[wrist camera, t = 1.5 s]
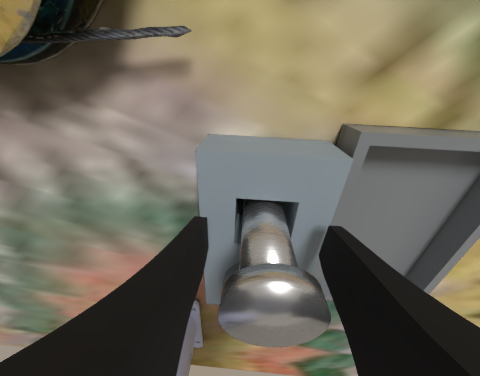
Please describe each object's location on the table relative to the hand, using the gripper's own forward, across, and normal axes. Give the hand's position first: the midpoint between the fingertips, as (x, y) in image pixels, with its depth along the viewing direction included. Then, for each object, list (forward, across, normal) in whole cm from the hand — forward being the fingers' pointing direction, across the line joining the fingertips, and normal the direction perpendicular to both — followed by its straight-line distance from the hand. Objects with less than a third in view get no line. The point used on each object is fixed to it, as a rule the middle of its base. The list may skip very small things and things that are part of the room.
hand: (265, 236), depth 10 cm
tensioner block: (+4, 0, +2) cm, 4 cm away
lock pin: (+4, 0, 0) cm, 4 cm away
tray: (+4, -8, +2) cm, 9 cm away
